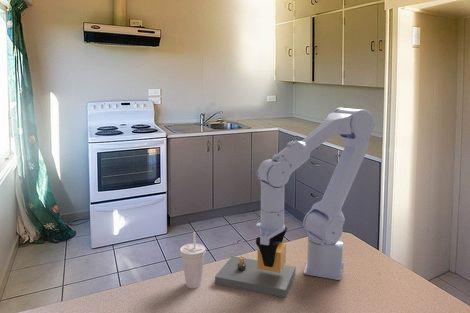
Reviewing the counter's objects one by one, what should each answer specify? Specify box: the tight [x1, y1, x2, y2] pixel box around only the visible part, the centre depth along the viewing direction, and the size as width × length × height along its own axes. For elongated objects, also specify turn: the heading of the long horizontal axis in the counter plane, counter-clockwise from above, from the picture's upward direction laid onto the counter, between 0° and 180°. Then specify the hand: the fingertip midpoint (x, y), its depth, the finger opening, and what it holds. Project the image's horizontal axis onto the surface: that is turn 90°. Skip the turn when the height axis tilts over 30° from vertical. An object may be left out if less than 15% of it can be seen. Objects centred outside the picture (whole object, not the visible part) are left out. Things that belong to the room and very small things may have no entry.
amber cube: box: [257, 242, 287, 273], centre depth 93 cm, size 6×6×5 cm
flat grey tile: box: [214, 255, 297, 298], centre depth 95 cm, size 18×12×5 cm, turn 70°
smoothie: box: [179, 231, 207, 289], centre depth 92 cm, size 6×6×14 cm
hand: (271, 260), depth 93 cm, fingers closed on amber cube, 6 cm apart
